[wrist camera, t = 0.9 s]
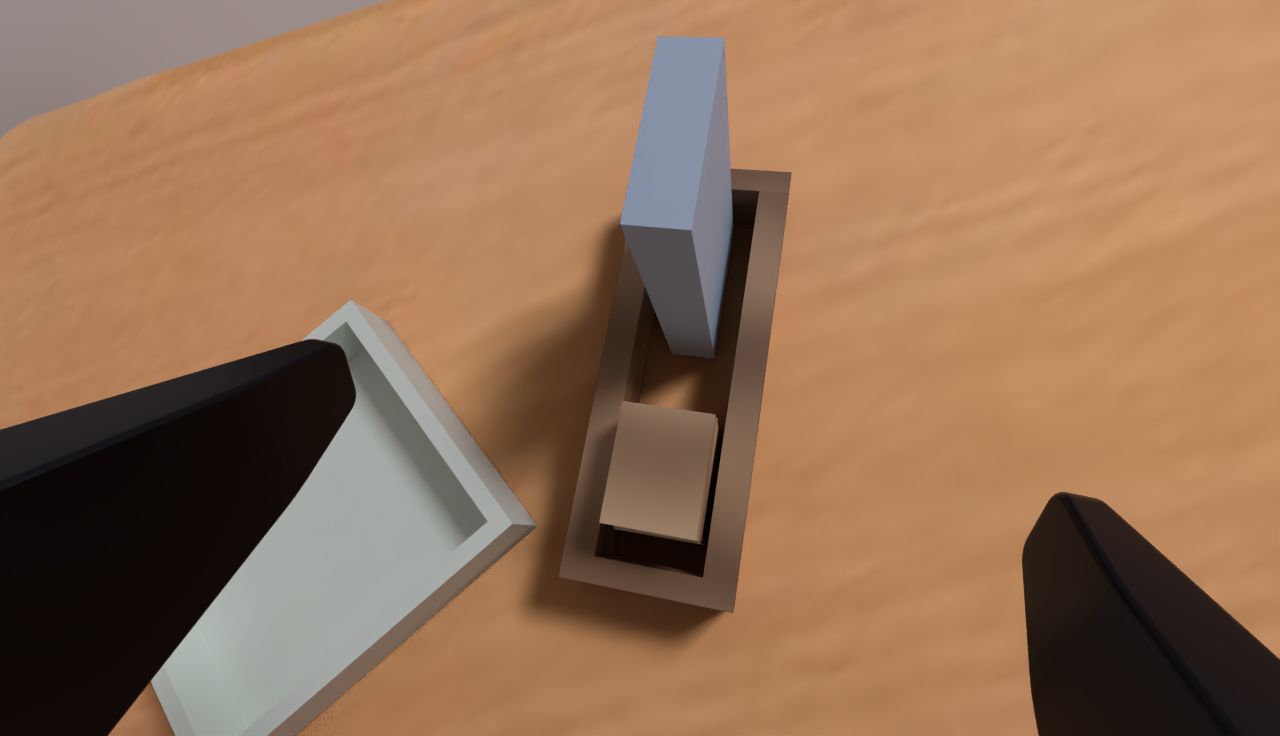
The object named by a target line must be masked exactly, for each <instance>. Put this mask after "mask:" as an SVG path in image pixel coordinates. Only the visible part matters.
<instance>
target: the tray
mask: <svg viewBox="0 0 1280 736" xmlns="http://www.w3.org/2000/svg"><path fill="white" fill-rule="evenodd" d="M307 339H318V340H323V341H328V342H333V343H336V344H338V345H340V346H341V347H342V349H343V350H344V352H345V354H346V357H347V361H348V364H349V368H350V371H351V375H352V378H353V381H354V385H355V388H356V401H355V404H354V407H353V409H352V410H351V412H350V413H349V415H348V417H347V418H346V420H345V421H344V423H343V424H342V426H341V427H340V429H339V431H338V432H337V434H336V435H335V437H334V438H333V440H332V441H331V443H330V445H329V446H328V448H327V449H326V451H325V452H324V454H323V456H322V457H321V459H320V460H319V462H318V463H317V465H316V466H315V468H314V470H313V471H312V473H311V474H310V476H309V477H308V479H307V480H306V482H305V483H304V485H303V486H302V488H301V489H300V491H299V492H298V494H297V495H296V497H295V498H294V499H293V501H292V502H291V503H290V505H289V506H288V507H287V509H286V510H285V511H284V512H283V514H282V515H281V516H280V518H279V519H278V520H277V521H276V523H275V524H274V525H273V526H272V528H271V529H270V530H269V531H268V533H267V534H266V535H265V537H264V538H263V539H262V540H261V542H260V543H259V544H258V545H257V547H256V548H255V549H254V551H253V552H252V553H251V554H250V556H249V557H248V558H247V559H246V561H245V562H244V563H243V565H242V566H241V567H240V568H239V570H238V571H237V572H236V573H235V575H234V576H233V577H232V579H231V580H230V581H229V582H228V584H227V585H226V586H225V587H224V589H223V590H222V591H221V592H220V594H219V595H218V596H217V598H216V599H215V600H214V601H213V603H212V604H211V605H210V606H209V608H208V609H207V610H206V612H205V613H204V614H203V615H202V617H201V618H200V619H199V620H198V622H197V623H196V624H195V626H194V627H193V628H192V629H191V631H190V632H189V633H188V634H187V636H186V637H185V638H184V640H183V641H182V642H181V643H180V645H179V646H178V647H177V648H176V650H175V651H174V652H173V653H172V655H171V656H170V657H169V659H168V660H167V661H166V662H165V664H164V665H163V666H162V667H161V669H160V670H159V671H158V673H157V674H156V675H155V676H154V678H153V679H152V680H151V683H152V685H153V687H154V690H155V692H156V694H157V696H158V699H159V701H160V703H161V705H162V707H163V710H164V712H165V714H166V716H167V719H168V721H169V723H170V725H171V727H172V730H173V732H174V734H175V736H295V735H296V734H298V733H299V732H300V731H301V730H302V729H303V728H304V727H306V726H307V725H308V724H309V723H310V722H311V721H313V720H314V719H315V718H316V717H317V716H318V715H319V714H321V713H322V712H323V711H324V710H325V709H326V708H328V707H329V706H330V705H331V704H332V703H333V702H334V701H336V700H337V699H338V698H339V697H340V696H341V695H343V694H344V693H345V692H346V691H347V690H348V689H349V688H351V687H352V686H353V685H354V684H355V683H356V682H358V681H359V680H360V679H361V678H362V677H363V676H365V675H366V674H367V673H368V672H369V671H370V670H371V669H373V668H374V667H375V666H376V665H377V664H378V663H380V662H381V661H382V660H383V659H384V658H385V657H386V656H388V655H389V654H390V653H391V652H392V651H393V650H395V649H396V648H397V647H398V646H399V645H400V644H401V643H403V642H404V641H405V640H406V639H407V638H408V637H410V636H411V635H412V634H413V633H414V632H415V631H416V630H418V629H419V628H420V627H421V626H422V625H423V624H425V623H426V622H427V621H428V620H429V619H430V618H431V617H433V616H434V615H435V614H436V613H437V612H438V611H440V610H441V609H442V608H443V607H444V606H445V605H446V604H448V603H449V602H450V601H451V600H452V599H453V598H455V597H456V596H457V595H458V594H459V593H460V592H462V591H463V590H464V589H465V588H466V587H467V586H468V585H470V584H471V583H472V582H473V581H474V580H475V579H477V578H478V577H479V576H480V575H481V574H482V573H483V572H485V571H486V570H487V569H488V568H489V567H490V566H492V565H493V564H494V563H495V562H496V561H497V560H498V559H500V558H501V557H502V556H503V555H504V554H505V553H507V552H508V551H509V550H510V549H511V548H512V547H513V546H515V545H516V544H517V543H518V542H519V541H520V540H522V539H523V538H524V537H525V536H526V535H527V534H528V533H530V532H531V531H532V530H533V529H534V528H535V527H537V524H536V523H535V522H534V520H533V519H532V518H531V516H530V515H529V514H528V512H527V511H526V509H525V508H524V507H523V505H522V504H521V503H520V501H519V500H518V499H517V497H516V496H515V494H514V493H513V492H512V490H511V489H510V488H509V486H508V485H507V484H506V482H505V481H504V480H503V478H502V477H501V475H500V474H499V473H498V471H497V470H496V469H495V467H494V466H493V465H492V463H491V462H490V461H489V459H488V458H487V456H486V455H485V454H484V452H483V451H482V450H481V448H480V447H479V446H478V444H477V443H476V441H475V440H474V439H473V437H472V436H471V435H470V433H469V432H468V431H467V429H466V428H465V427H464V425H463V424H462V422H461V421H460V420H459V418H458V417H457V416H456V414H455V413H454V412H453V410H452V409H451V408H450V406H449V405H448V403H447V402H446V401H445V399H444V398H443V397H442V395H441V394H440V393H439V391H438V390H437V388H436V387H435V386H434V384H433V383H432V382H431V380H430V379H429V378H428V376H427V375H426V374H425V372H424V371H423V369H422V368H421V367H420V365H419V364H418V363H417V361H416V360H415V359H414V357H413V356H412V355H411V353H410V352H409V350H408V349H407V348H406V346H405V345H404V344H403V342H402V341H401V340H400V338H399V337H398V336H397V334H396V333H395V331H394V330H393V329H392V327H391V326H390V325H389V323H388V322H387V321H385V320H383V319H382V318H380V317H378V316H377V315H375V314H373V313H372V312H370V311H369V310H367V309H365V308H364V307H362V306H360V305H359V304H357V303H355V302H354V301H352V300H350V301H349V302H348V303H346V304H345V305H344V306H343V307H342V308H340V309H339V310H338V311H337V312H335V313H334V314H333V315H332V316H331V317H329V318H328V319H327V320H326V321H325V322H323V323H322V324H321V325H320V326H319V327H317V328H316V329H315V330H314V331H312V332H311V333H310V334H309V335H308V336H306V337H305V338H304V339H303V340H307ZM303 340H302V341H303Z"/></svg>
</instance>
